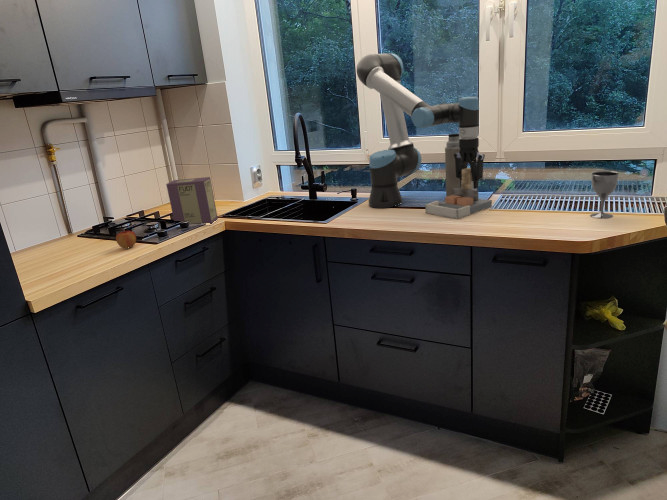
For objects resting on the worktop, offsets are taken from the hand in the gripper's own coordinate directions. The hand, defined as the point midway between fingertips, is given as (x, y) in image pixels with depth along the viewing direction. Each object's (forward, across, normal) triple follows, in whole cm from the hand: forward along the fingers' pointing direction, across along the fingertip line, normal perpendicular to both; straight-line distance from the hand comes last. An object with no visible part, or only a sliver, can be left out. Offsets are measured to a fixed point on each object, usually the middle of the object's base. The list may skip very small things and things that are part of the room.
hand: (469, 195), depth 194 cm
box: (+5, -84, -85) cm, 120 cm away
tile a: (+2, -3, -7) cm, 7 cm away
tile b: (+2, +3, -7) cm, 8 cm away
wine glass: (+5, +47, +12) cm, 49 cm away
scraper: (+1, 0, 0) cm, 1 cm away
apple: (+5, -74, -118) cm, 139 cm away
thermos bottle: (+5, -15, +9) cm, 18 cm away
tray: (+5, 0, -14) cm, 15 cm away
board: (+5, 0, -3) cm, 6 cm away
